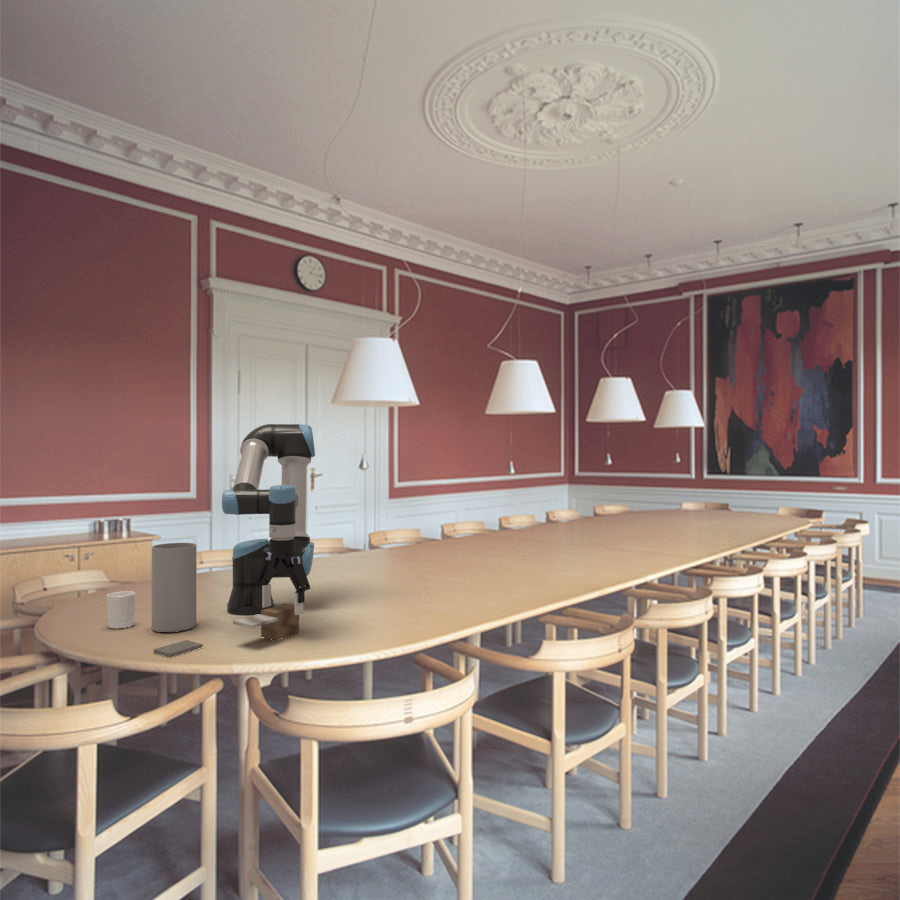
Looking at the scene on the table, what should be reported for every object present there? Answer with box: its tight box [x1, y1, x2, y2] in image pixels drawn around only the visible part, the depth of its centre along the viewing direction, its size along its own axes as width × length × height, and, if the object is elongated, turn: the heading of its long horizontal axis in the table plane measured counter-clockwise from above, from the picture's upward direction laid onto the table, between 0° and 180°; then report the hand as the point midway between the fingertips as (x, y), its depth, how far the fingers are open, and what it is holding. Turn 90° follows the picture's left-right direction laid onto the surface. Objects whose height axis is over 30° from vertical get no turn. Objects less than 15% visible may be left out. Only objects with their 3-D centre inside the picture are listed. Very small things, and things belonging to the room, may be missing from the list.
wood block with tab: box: [232, 603, 300, 641], centre depth 187 cm, size 18×8×8 cm, turn 147°
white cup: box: [106, 590, 136, 629], centre depth 200 cm, size 8×8×10 cm
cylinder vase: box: [151, 542, 197, 633], centre depth 198 cm, size 12×12×25 cm
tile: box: [153, 639, 204, 658], centre depth 176 cm, size 7×2×10 cm
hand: (282, 610), depth 192 cm, fingers open, 13 cm apart
